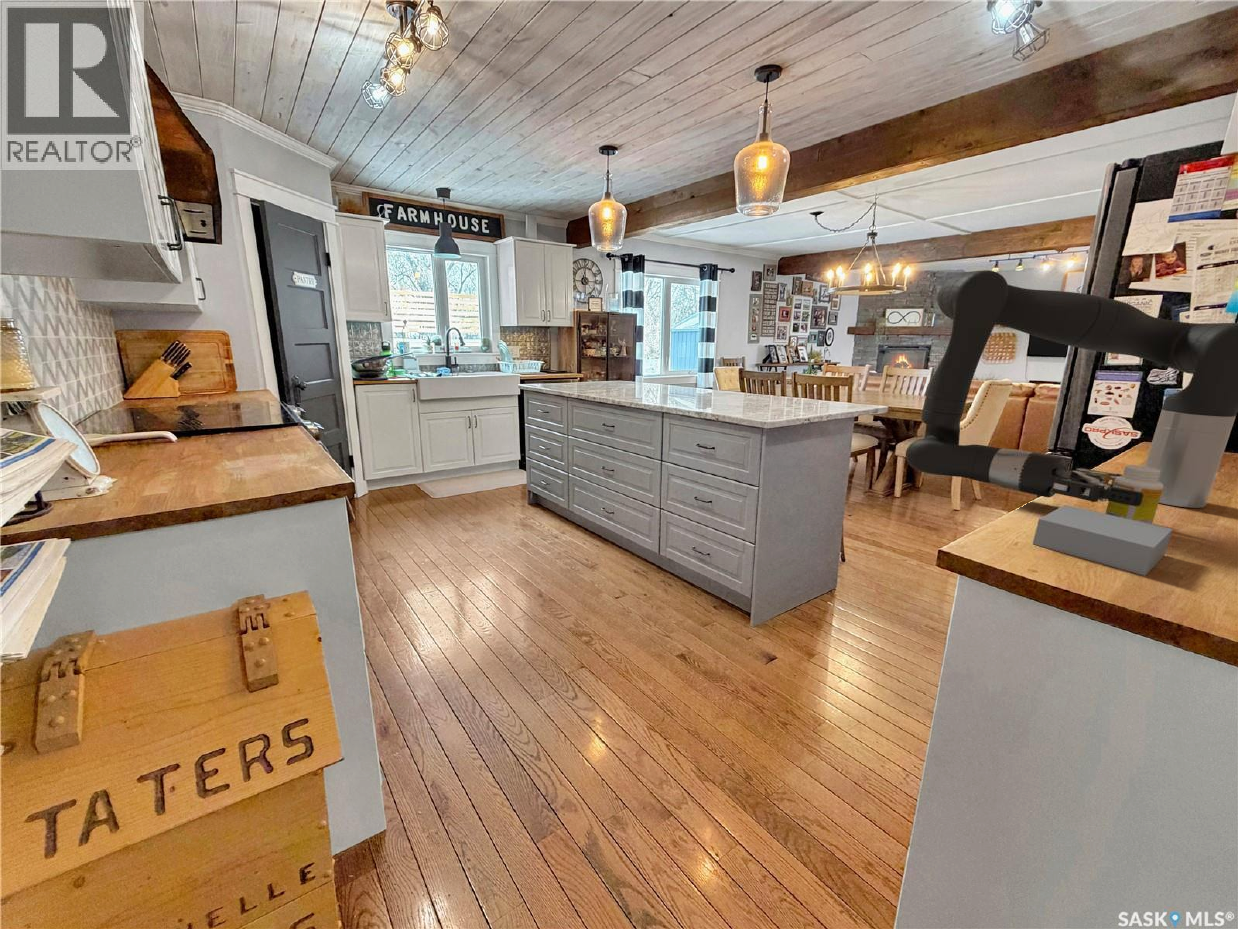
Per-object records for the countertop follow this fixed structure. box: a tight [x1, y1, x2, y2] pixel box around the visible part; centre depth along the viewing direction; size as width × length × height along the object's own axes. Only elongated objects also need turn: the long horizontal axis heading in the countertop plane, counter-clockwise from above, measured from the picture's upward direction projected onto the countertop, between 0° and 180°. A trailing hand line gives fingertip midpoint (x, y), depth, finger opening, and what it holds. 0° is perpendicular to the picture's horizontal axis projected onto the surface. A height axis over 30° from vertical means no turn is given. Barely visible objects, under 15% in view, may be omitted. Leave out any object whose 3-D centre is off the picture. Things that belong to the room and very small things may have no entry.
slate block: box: [1032, 504, 1174, 577], centre depth 73 cm, size 12×12×4 cm
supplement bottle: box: [1104, 464, 1163, 524], centre depth 81 cm, size 6×6×10 cm
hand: (1148, 495), depth 80 cm, fingers open, 8 cm apart
